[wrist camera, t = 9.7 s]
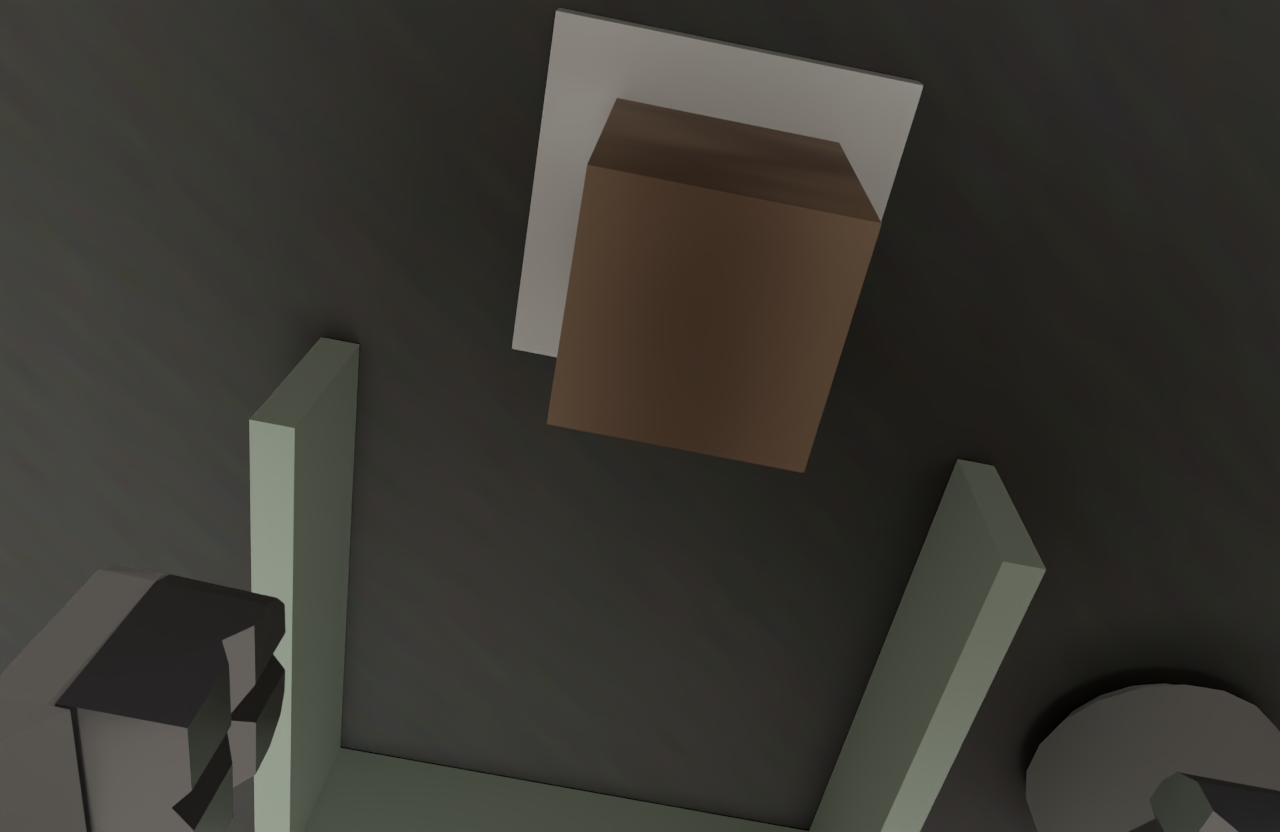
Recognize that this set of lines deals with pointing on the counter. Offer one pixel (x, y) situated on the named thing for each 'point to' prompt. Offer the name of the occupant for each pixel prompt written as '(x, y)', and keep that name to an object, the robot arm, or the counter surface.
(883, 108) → the coaster
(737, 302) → the block
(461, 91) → the counter surface
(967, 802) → the counter surface
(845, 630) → the counter surface
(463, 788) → the pale green frame
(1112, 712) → the can
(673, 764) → the counter surface
